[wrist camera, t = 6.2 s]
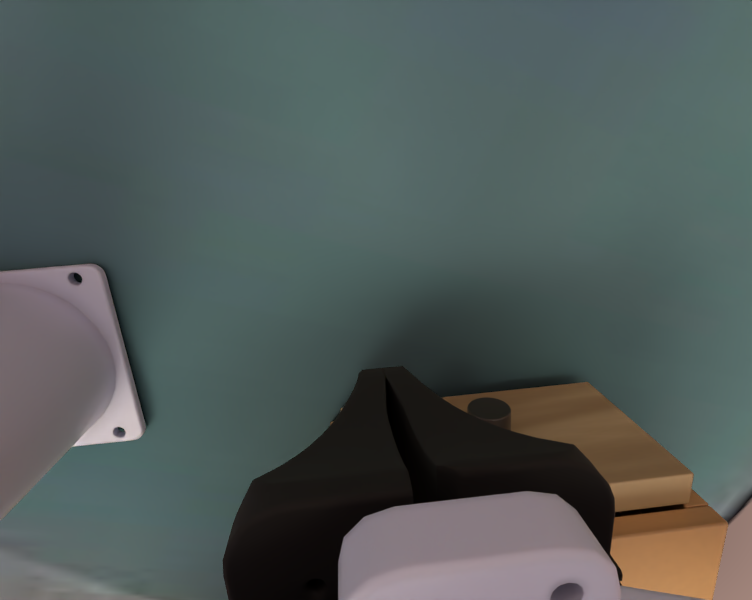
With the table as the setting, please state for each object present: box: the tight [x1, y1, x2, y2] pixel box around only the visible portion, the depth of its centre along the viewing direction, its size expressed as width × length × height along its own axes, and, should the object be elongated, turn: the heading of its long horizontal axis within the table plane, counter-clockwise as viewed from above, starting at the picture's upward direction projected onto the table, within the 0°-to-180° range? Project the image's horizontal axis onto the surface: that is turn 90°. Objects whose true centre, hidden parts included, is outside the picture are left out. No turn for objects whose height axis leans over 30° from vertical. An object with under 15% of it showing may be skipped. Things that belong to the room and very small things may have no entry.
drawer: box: [340, 382, 694, 517], centre depth 18 cm, size 14×11×6 cm
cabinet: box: [330, 421, 728, 600], centre depth 19 cm, size 14×13×8 cm
